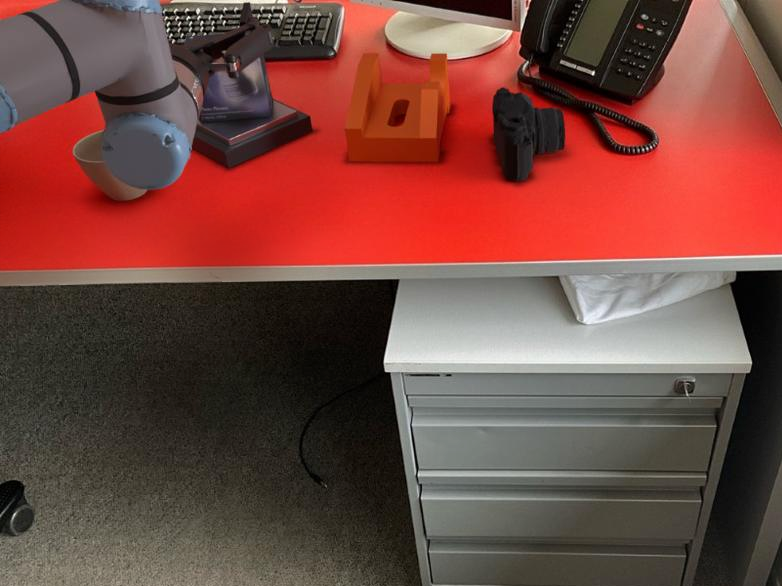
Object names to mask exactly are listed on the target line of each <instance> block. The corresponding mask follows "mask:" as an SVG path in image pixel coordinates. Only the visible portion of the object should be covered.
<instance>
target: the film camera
mask: <svg viewBox="0 0 782 586" xmlns="http://www.w3.org/2000/svg"><path fill="white" fill-rule="evenodd" d="M491 104H492V108H491V109H492V110H491V111H492V122H493V124H492V125H493V133H492V138H493V142H494V146H495V150H496V152H497V155H498V156H497V157H498V160H499V164H500V167H501V170H502V173H503V176H504V178H505V179H506V180H507V181H510V182H523V181H525V180H526V179H527V178H528V177H529V175H530V174H529V173H531V171H532V170H533V167H534V154H535V155H542V154H552V153H554V154H555V153H557V151H563V150H565V145H566V122H565V116H564V112H563V110H562V108H555V107H553V106H550V107H542V108H541V107H535V106H534V103H533V100H532V97H529V95H527V94H525V93H524V92H520V91H519V92H516V93H514V92H511V91H510V89H509V88H506V87H505V86H502V87H500V88H498V89H496V92H495V94H493V98H492V103H491Z"/></svg>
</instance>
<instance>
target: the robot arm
mask: <svg viewBox="0 0 782 586" xmlns="http://www.w3.org/2000/svg"><path fill="white" fill-rule="evenodd" d="M251 5H252V4H251V2H250V1H247V2H243V4H242V8H241V11H240V16H239V20H238V25H239V26H238V27H236V28H234V29H232V30H229V31H227V32H225V33H222V34H223V35H220V36H218V37H216V38H214V39H211V40H207V39H200V40H198V41H196V42H194V43H191V44H189V45H187V44H184V43H183V44H181V45H180V44H177V43H173V42H169V40H168V35H167V31H166V26H165V21H164V17H163V9H162V6H161V3H160V0H56V1H53V2H50V3H47V4H44V5H42V6H39V7H36V8H33V9H30V10H26V11H24V12H21V13H18V14H16V15H13V16H9V17H6V18H3V19H0V134H4V133H6V132H9V131H11V129H13V128H14V127H15V126H17V125H20V124H22V123H24V122H27V121H28V120H31V119H33V118H35V117H38V116H40V115H42V114H44V113H46V112H48V111H50V110H53V109H55V108H57V107H60V106H62V105H64V104H67V103H70V102H72V101H75V100H77V99H79V98H82V97H85V96H87V95H89V94H92V93H93V92H94V94H95V96H96V99H97V102H98V105H99V108H100V111H101V114H102V118H103V120H104V123H105V126H104V129H103V130H104V131H103V133H102V136H103V138H102V144H101V154H102V158H103V161H104V163H105V165H106V166H107V168H108V169H109V171H110V172H111V173H112V174H113V175H114V176H115V177H116V178H117V179H119V180H120V181H122V182H123V183H125V184H127V185H129V186H131V187H134V188H138V189H144V190H147V191H155V190H161V189H165V188H167V187H168V186H171V185H172V184H174V183H175V182H176V181H177V180H178V179H179V178H180V176H181V175H182V174H183V171H184V169H185V167H186V165H187V164H188V161H190V158H191V155H192V149H193V148H191V147H192V143H193V138H194V134H195V130H196V126H197V122H198V119H199V116H200V112H201V109H202V105H203V102H204V98H205V95H206V91H207V87H208V79H209V78H210V77H212V76H213V75H214V73H215V72H221V71H226V73H228V76H229V78H232V79H233V78H238V77H239V76H240V74H241V72H242V70H243V69H244V68H246V67H247V66H249V65H250V64H251V63H253V62H254V61H255V60H257V59H258V58H259V57H261V56H262V55H263V54H264V55H266V53H267V52H269V51H270V50H272V49H273V48H274V47H275V44H274V37H273V31H272V26H271V24H270V23H263V24H260V20H259V17H258V16H253V10H252V6H251ZM201 49H203V52H202V51H200V50H201Z"/></svg>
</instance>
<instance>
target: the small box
mask: <svg viewBox="0 0 782 586" xmlns="http://www.w3.org/2000/svg"><path fill="white" fill-rule="evenodd" d="M223 34H224V33H215V34H202V35H201V34H200V35H199V34H198V35H186V36H185V39H184V43H183V44H187V45H189V44H191V43H194V42H196V41H198V40H200V39H207V40H211V39H214V38H216V37H218V36H220V35H223ZM200 51H202V52H203V49H201V50H200ZM267 69H268V68H267V64H266V58H265V54H263V55H262V56H261V57H259V58H258V59H257V60H255V61H254V62H253V63H251V64H250V65H249V66H247V67H246V68H244V69H243V70H242V72H241V74H240V76H239V77H238V78H233V79H232V78H229V76H228V73H226V71H221V72H215V73H214V75H213V76H212V77H210V78H209V79H208V87H207V91H206V95H205V98H204V102H203V105H202V109H201V112H200V116H199V122H212V121H224V120H237V119H250V118H264V117H272V109H273V99H274V96H273V94H272V89H271V85H270V84H271V83H270V79H269V75H268V74H269V73H268V70H267Z"/></svg>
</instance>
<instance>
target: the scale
mask: <svg viewBox="0 0 782 586" xmlns="http://www.w3.org/2000/svg"><path fill="white" fill-rule="evenodd" d="M312 132H314V130H313V125H312V119H311V115H310V114H307V113H305V112H303V111H301V110H298V109H297V108H295V107H292V106H290V105H288V104H285V103H284V102H281V101H280V100H277V99H275V98H273V109H272V117H264V118H250V119H237V120H224V121H212V122H199V119H198V122H197V126H196V130H195V134H194V138H193V143H192V147H191V148H192V149H193V150H195V151H197V152H198V153H200V154H202V155H204V156H205V157H208V158H210V159H211V160H213V161H214V162H216V163H217V164H220V165H222V166H224V167H225V168H227V169H230V168H233V167H235V166H237V165H240V164H242V163H244V162H246V161H249V160H251V159H253V158H256V157H258V156H260V155H262V154H265V153H267V152H269V151H271V150H274V149H276V148H278V147H280V146H282V145H285V144H287V143H290V142H291V141H294V140H296V139H298V138H300V137H303V136H306V135H307V134H309V133H312Z"/></svg>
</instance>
